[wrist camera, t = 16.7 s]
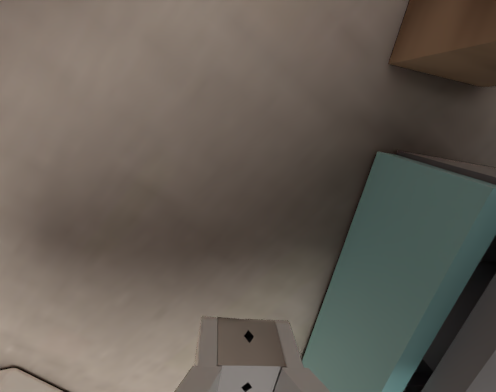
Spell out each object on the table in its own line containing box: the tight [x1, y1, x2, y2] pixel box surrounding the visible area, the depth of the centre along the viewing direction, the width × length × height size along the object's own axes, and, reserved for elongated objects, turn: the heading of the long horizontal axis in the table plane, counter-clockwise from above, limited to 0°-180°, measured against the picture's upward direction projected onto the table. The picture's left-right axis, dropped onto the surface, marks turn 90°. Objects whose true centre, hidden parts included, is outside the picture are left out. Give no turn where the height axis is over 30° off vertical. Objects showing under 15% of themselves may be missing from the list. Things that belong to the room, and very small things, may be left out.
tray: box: [302, 151, 496, 392], centre depth 13 cm, size 16×13×5 cm
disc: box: [423, 262, 496, 372], centre depth 13 cm, size 7×7×2 cm
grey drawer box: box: [396, 150, 496, 392], centre depth 13 cm, size 16×13×7 cm
